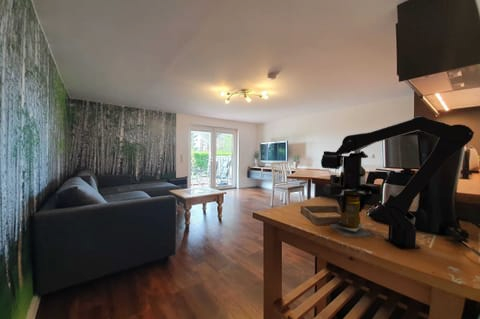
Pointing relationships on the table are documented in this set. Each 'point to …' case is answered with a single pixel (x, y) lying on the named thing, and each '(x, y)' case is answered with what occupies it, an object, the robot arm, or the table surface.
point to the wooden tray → (317, 220)
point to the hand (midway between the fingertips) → (350, 212)
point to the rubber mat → (351, 232)
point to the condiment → (350, 213)
